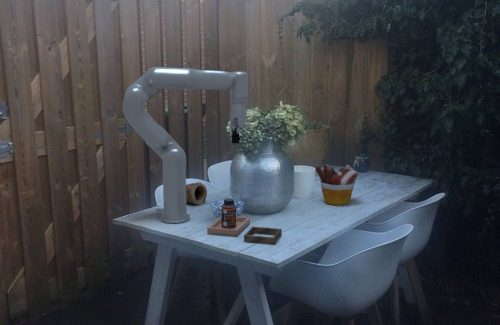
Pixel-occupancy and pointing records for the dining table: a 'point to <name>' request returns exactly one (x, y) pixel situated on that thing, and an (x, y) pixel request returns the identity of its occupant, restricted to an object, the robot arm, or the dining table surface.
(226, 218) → the supplement bottle
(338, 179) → the bucket of meat
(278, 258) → the dining table surface
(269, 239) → the frame
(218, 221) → the tray
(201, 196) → the clay pipe
